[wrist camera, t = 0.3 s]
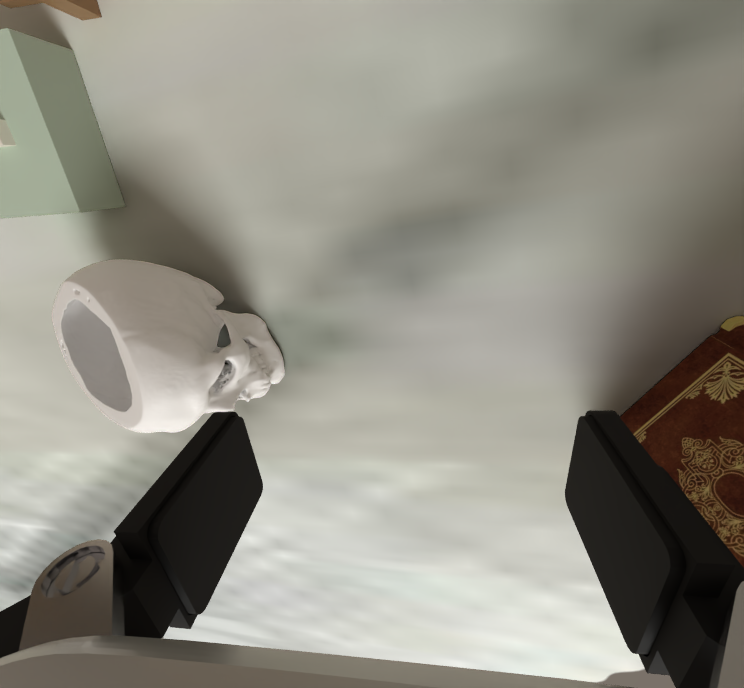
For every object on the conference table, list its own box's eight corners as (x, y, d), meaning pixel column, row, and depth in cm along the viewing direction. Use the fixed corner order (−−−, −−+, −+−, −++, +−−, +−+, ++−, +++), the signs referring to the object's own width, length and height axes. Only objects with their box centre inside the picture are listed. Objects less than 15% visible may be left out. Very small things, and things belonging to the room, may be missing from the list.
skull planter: (265, 424, 49) (109, 487, 32) (190, 319, 54) (23, 325, 37) (322, 357, 43) (170, 390, 27) (233, 246, 49) (58, 216, 32)
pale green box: (-16, 63, 36) (-112, 39, 29) (72, 50, 34) (-8, 22, 28) (48, 212, 42) (-20, 220, 35) (125, 206, 40) (69, 213, 34)
